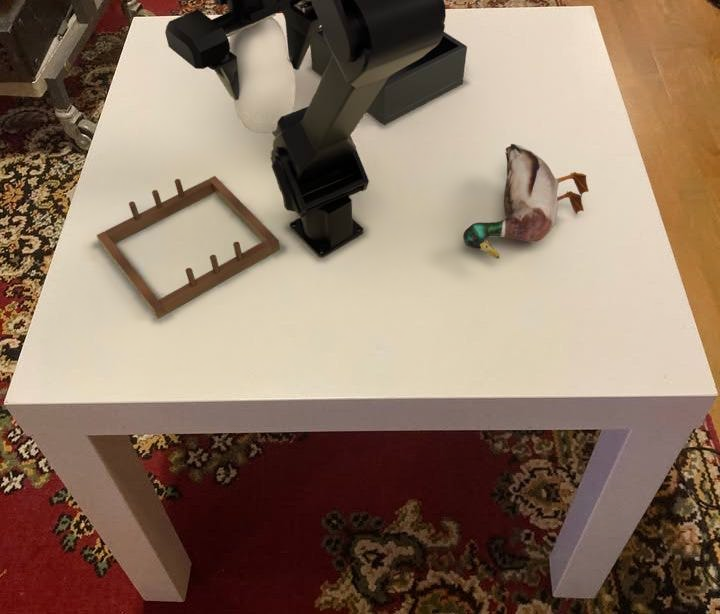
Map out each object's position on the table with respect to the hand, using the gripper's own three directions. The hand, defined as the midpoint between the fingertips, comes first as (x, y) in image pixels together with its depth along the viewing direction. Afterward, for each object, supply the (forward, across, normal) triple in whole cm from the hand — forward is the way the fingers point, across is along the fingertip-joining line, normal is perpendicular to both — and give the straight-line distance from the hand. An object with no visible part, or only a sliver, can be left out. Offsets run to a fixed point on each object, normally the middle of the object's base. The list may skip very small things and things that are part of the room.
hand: (265, 82), depth 81 cm
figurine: (+4, 0, 0) cm, 4 cm away
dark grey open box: (+13, -24, -6) cm, 28 cm away
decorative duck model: (+13, -15, +25) cm, 32 cm away
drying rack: (+13, +16, +4) cm, 21 cm away
